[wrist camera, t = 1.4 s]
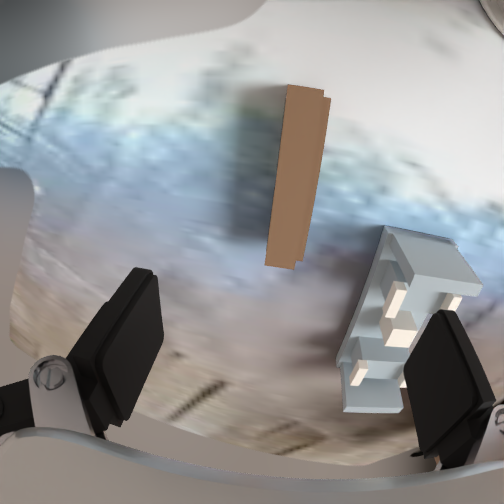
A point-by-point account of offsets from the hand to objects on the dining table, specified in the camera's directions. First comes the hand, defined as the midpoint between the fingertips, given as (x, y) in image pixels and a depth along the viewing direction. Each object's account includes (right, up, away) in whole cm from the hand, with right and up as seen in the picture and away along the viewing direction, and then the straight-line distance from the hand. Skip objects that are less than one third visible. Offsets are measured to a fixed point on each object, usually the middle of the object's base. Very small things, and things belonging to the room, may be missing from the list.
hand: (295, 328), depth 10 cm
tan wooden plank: (+2, +10, +16) cm, 19 cm away
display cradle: (+14, -4, +22) cm, 26 cm away
